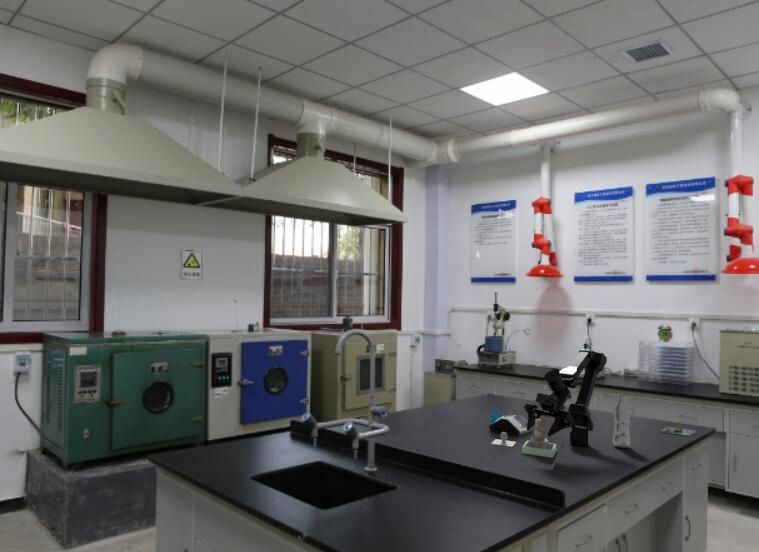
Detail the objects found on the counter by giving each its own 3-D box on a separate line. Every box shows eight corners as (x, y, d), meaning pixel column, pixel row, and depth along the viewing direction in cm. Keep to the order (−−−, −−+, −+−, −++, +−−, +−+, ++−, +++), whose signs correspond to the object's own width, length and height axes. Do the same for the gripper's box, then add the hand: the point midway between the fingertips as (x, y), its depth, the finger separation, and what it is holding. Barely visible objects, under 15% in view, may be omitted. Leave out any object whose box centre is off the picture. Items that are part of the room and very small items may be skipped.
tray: (556, 454, 205) (556, 444, 205) (553, 461, 195) (553, 450, 195) (526, 450, 209) (527, 440, 209) (522, 457, 199) (522, 446, 200)
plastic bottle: (609, 446, 219) (610, 395, 220) (616, 444, 224) (617, 393, 225) (626, 450, 215) (627, 397, 216) (633, 447, 220) (634, 396, 221)
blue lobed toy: (494, 428, 237) (488, 408, 244) (487, 436, 240) (482, 416, 248) (516, 431, 240) (510, 411, 247) (510, 438, 243) (504, 418, 251)
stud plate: (516, 445, 215) (516, 431, 216) (512, 450, 208) (512, 435, 208) (495, 442, 219) (495, 428, 219) (490, 447, 211) (491, 433, 211)
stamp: (545, 452, 205) (546, 419, 205) (548, 456, 199) (549, 422, 200) (530, 451, 205) (531, 418, 206) (533, 455, 200) (534, 421, 200)
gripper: (527, 381, 213) (507, 413, 206) (570, 389, 198) (549, 423, 191) (540, 400, 217) (520, 432, 210) (582, 409, 202) (563, 444, 195)
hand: (537, 432), depth 202 cm, fingers open, 9 cm apart
